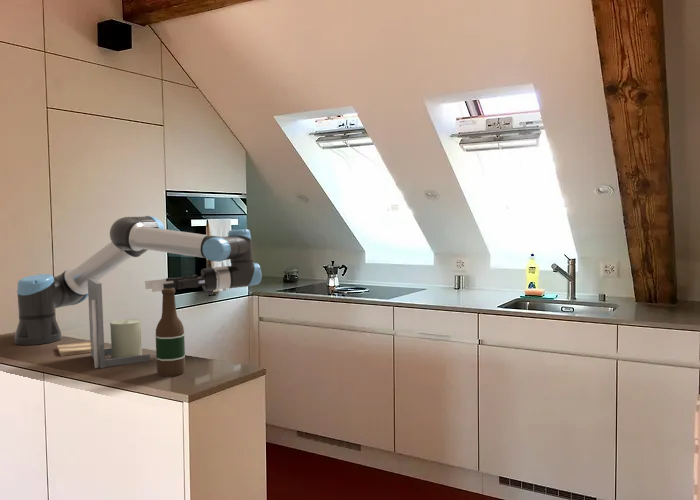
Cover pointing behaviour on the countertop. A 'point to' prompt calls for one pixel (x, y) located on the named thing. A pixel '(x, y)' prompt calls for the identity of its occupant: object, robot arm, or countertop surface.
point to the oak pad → (74, 348)
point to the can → (126, 338)
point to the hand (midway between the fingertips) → (148, 286)
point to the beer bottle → (170, 338)
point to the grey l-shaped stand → (98, 332)
